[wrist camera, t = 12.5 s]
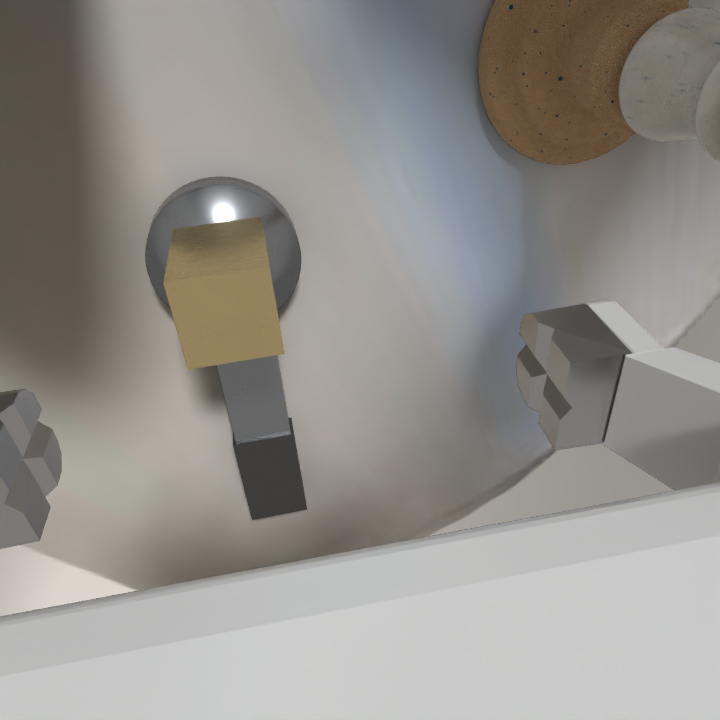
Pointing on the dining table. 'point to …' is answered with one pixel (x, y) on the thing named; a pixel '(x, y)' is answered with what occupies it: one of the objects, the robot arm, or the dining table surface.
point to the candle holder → (600, 75)
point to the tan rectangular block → (222, 293)
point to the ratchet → (255, 376)
